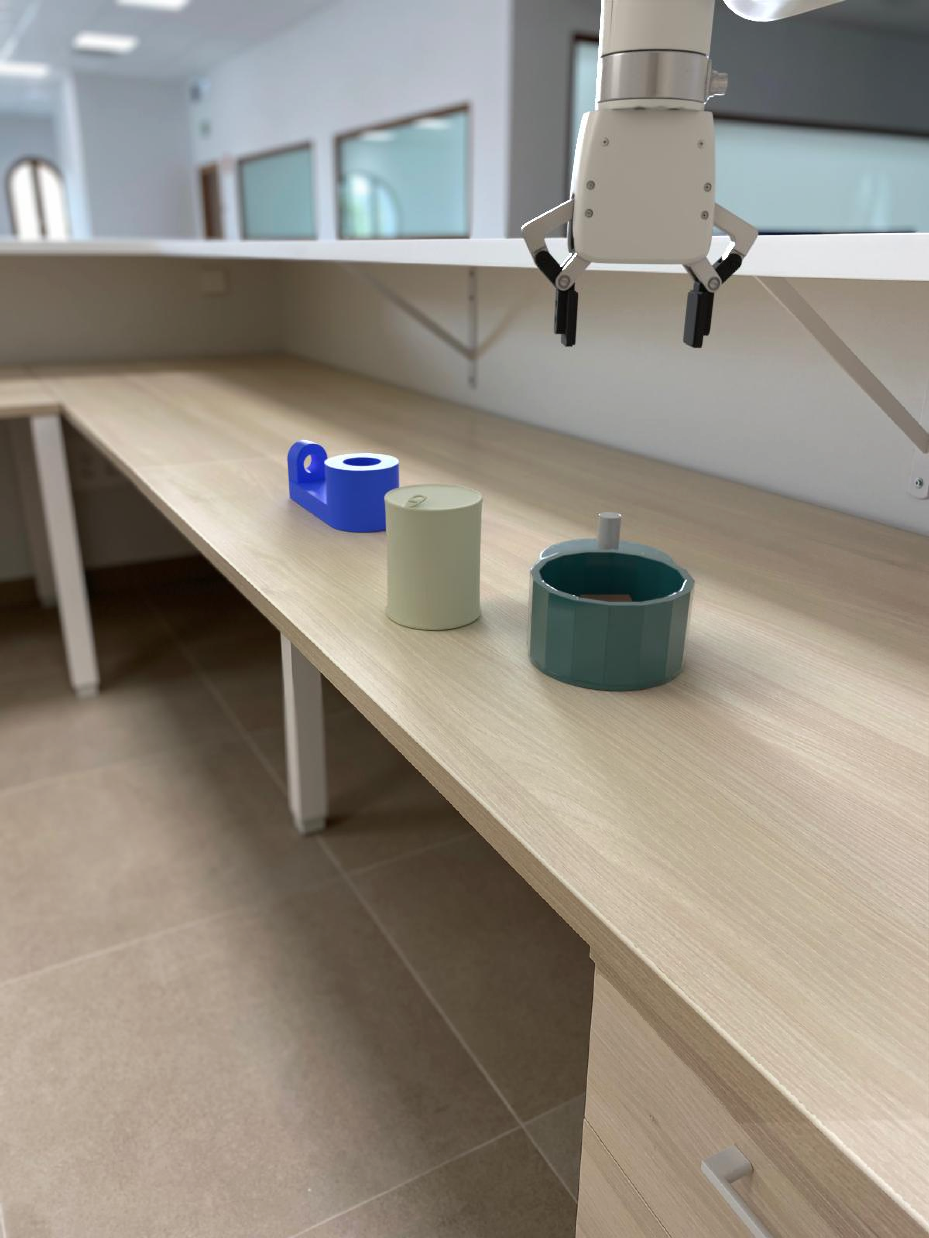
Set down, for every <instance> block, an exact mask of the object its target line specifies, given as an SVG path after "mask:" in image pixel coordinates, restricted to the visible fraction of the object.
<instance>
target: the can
mask: <svg viewBox="0 0 929 1238" xmlns="http://www.w3.org/2000/svg"><path fill="white" fill-rule="evenodd" d="M384 500H385V510H386V530H385V533H386V537H385V538H386V577H387V580H386V581H387V583H386V584H387V585H386V586H387V588H386V589H387V590H386V591H387V594H386V596H387V598H386V609H385V613H386V615H387V617H388V618H389V619H390V620H391V621H393V622H394V623H396V624H398V625H400V626H402V627H406V628H409V629H410V628H411V629H416V630H423V631H424V630H425V631H443V630H451V629H456V628H461V627H464V626H467V625H469V624H471V623H473V622H475V621H476V620H478V619H479V617H480V616H481V613H482V607H481V544H482V543H481V542H482V514H483V513H482V512H483V501H484V497H483V495H482V493H481V492H480V491H477V490H475V489H472V488H471V487H466V486H462V485H456V484H447V483H446V484H445V483H419V484H411V485H405V486H404V485H403V486H401V487H400V486H399V488H396V489H393V490H391V491H389V492H388V493H387V494H386V495H385V497H384Z"/></svg>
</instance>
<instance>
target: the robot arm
mask: <svg viewBox="0 0 929 1238" xmlns="http://www.w3.org/2000/svg"><path fill="white" fill-rule="evenodd" d="M723 1H724V3H725V4H726V6H727V7H728V8H729V9H730V10H731V11H733V12H734V13H735V14H736V15H738V16H740V17H741V18H743V19H746V20H751V21H755V22H772V21H778V20H783V19H785V18H790V17H793V16H797V15H801V14H804V13H807V12H810V11H811V12H812V11H814V10H817V9H820V8H824V7H828V6H830V5H833V4H838V3H841V2H844V1H845V0H723ZM715 2H716V0H601V12H600V29H599V46H598V61H597V78H596V95H595V97H596V98H595V109H594V110H589V111H587V112H584V113H583V116H582V119H581V123H580V128H579V132H578V137H577V143H576V149H575V155H574V162H573V169H572V178H571V185H570V196H569V200H567V201H565V202H563V203H561V204H560V205H558V206H556V207H554V208H552V209H550V210H549V211H546V212H545V213H543V214H541V215H539V216H538V217H535V218H534V219H532V220H530V221H528V222H526V223H524V225H522V227H521V229H520V234H521V236H522V238H523V240H524V243H525V245H526V248H527V249H528V251H529V254H530V256H531V258H532V260H533V263H534V265H535V266H536V268H537V269H539V271H540V272H541V273H542V275H544V277H545V278H546V279H547V280H548V281H549V282H550V283H551V284H552V287H554V288H555V293H554V294H555V296H554V297H555V298H554V316H553V333H554V335H560V343H561V344H562V345H563V346H564V347H565V348H572V347H573V346H576V341H577V328H578V327H577V325H578V311H579V292H578V291H577V290H576V281H577V280H578V279H579V278H580V277H581V276H582V274H583V273H584V272H585V271H586V269H587V268H588V267H589V266H590V265H591V264H592V263H593V264H594V263H595V264H613V265H614V264H615V265H681V266H682V267H683V268H684V270H685V271H686V273H687V275H688V276H689V277H690V279H691V281H692V282H693V286H692V287H693V289H690V290H689V291H688V293H687V297H686V307H685V316H684V326H683V327H684V328H683V336H682V338H683V339H682V342H683V343H684V344H685V345H686V346H689V347H691V348H693V349H702V348H703V343H704V337H706V336H707V337H708V336H709V335H710V333H711V329H712V328H711V327H712V319H713V318H712V317H713V309H714V302H715V293H716V292H718V291H719V290H720V289H721V288H722V285H723V284H725V283H726V281H728V279H730V277H732V276H733V275H734V274H735V273H736V272H737V271H738V270H739V269H740V268H741V266H742V264H743V260H744V259H745V257H747V255H748V254H749V252H750V250H751V249H752V247H753V245H754V244H755V242H756V240H757V239H758V236H759V230H758V229H757V227H755V226H754V225H752V224H750V223H749V222H747V221H745V220H744V219H743V218H741V217H739V216H737V215H736V214H734V213H733V212H731V211H729V210H728V209H727V208H725V207H723V206H722V205H720V204H719V203H717V202H716V139H715V138H716V137H715V135H716V134H715V123H714V115H713V112H712V111H709V110H707V111H706V110H705V104H707V103H708V101H709V99H710V98H714V97H715V96H724V95H725V94H726V92H727V89H728V86H729V85H728V84H729V75H728V73H727V72H718V71H717V70H714V67H713V66H712V64H713V59H710V52H711V41H712V33H713V24H714V23H713V22H714V15H715V5H716V3H715ZM565 224H567V230H566V231H567V232H566V246H567V251H568V253H569V256H567V257H566V259H565V260H564V261H563V263H562V264H560V263H559V262H558V261H557V260H556V259H555V257H554V256H553V255H552V254H551V253H550V250H549V248H548V246H547V243H546V240H545V239H546V236H547V234H548V233H550V232H552V231H553V230H555V229H557V228H559V227H561V226H563V225H565ZM714 228H716V229H718V230H719V231H721V232H722V233H724V234H726V235H727V236H728V237H729V239H730V243H729V245H728V246H727V248H726V251H725V252H724V253H723V254H722V255H721V256H720V257H719V258H718V259H717V260H716V261H715V262H714V263H713V264H712V263H711V262H710V261H709V259H708V258H707V256H708V255H709V253H710V249H711V245H712V239H713V234H714V233H713V232H714Z"/></svg>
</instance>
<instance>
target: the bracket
mask: <svg viewBox="0 0 929 1238" xmlns="http://www.w3.org/2000/svg"><path fill="white" fill-rule="evenodd" d="M309 456H310V459H311V460H310V463H309V465H308V466H307V467H306V468H305V461H306V459H307V458H308V457H309ZM286 459H287V460H286V461H287V473H288V474H287V476H288V477H287V478H288V492H289V499H291V500H292V501H293V502H294V503H296V504H298V505H299V506H300V507H302V508H303V509H305V510H306V511H307V512H309V513H310V514H312V515H313V516H315V517H317V519H319V520H321V521H322V522H324V523H325V524H327V526H329V527H331V528H332V529H335V530H339V531H344V532H350V533H352V532H353V533H371V532H372V533H373V532H374V533H375V532H380V531H386V510H385V500H384V497H385V495H386V494H387V493H388V492H389V491H391V490H393V489H396V488H400V460H399V459H398V458H397V457H394V456H392V455H387V454H381V453H372V452H371V453H369V452H361V453H360V452H355V453H345V454H339V455H335V456H331V457H328V453H327V451H326V449H325V448H324V447H323V446H322V445H321V444H318V443H316V442H314V441H310V440H307V439H301V440H297V441H296V442H294V443H293V444H292V445H291V446H290V447H289V450H288V452H287V458H286Z"/></svg>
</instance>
